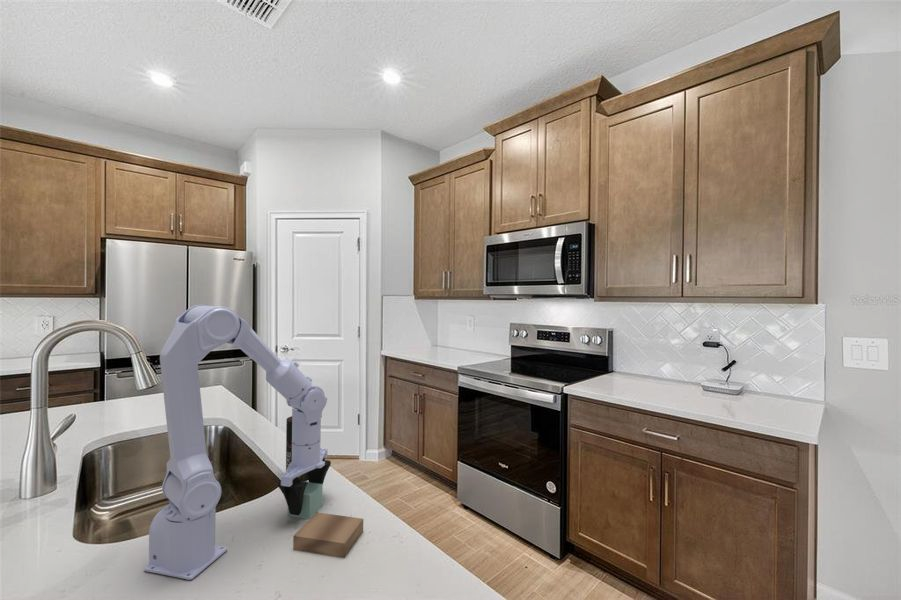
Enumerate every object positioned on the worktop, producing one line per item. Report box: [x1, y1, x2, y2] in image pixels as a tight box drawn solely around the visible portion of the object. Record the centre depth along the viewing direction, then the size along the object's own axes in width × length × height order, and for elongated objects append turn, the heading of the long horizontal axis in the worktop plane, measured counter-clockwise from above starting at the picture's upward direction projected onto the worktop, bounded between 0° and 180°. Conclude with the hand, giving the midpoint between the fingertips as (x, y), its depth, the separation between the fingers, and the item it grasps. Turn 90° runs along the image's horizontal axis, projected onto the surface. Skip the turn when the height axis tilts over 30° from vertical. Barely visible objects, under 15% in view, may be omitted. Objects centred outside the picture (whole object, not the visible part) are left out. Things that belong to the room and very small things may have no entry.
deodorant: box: [285, 415, 309, 482], centre depth 100 cm, size 6×6×15 cm
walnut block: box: [292, 511, 364, 559], centre depth 76 cm, size 10×8×3 cm
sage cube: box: [287, 481, 324, 520], centre depth 86 cm, size 5×5×5 cm
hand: (305, 504), depth 86 cm, fingers open, 7 cm apart
